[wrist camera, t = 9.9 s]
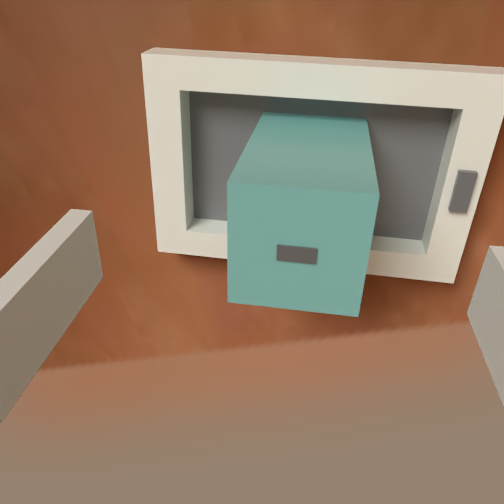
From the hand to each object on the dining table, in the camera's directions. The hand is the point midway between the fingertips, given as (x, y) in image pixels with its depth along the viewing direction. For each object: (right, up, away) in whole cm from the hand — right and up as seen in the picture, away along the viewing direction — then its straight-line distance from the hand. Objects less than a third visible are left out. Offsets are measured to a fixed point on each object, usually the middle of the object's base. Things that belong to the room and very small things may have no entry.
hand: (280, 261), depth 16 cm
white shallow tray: (+2, +5, +9) cm, 10 cm away
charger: (+2, +5, +8) cm, 10 cm away
